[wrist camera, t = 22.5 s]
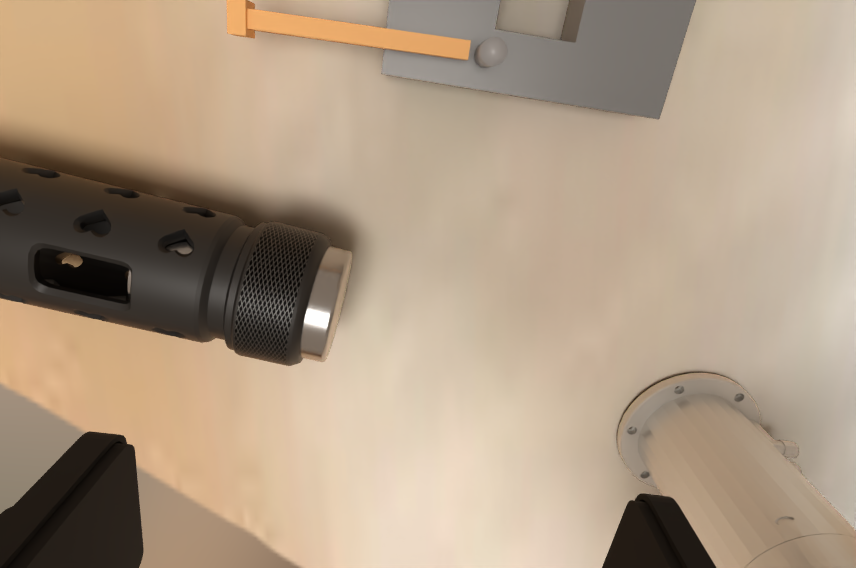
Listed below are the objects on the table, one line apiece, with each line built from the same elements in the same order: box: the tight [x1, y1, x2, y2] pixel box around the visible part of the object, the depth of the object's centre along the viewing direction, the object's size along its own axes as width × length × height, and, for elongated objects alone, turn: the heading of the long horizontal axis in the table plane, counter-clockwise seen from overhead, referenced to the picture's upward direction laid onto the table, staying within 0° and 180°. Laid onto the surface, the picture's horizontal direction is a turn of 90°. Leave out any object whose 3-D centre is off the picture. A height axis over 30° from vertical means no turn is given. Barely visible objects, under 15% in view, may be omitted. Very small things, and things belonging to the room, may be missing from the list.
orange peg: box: [227, 0, 471, 60], centre depth 28 cm, size 2×14×2 cm, turn 83°
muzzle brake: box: [0, 157, 352, 366], centre depth 34 cm, size 10×28×10 cm, turn 75°
